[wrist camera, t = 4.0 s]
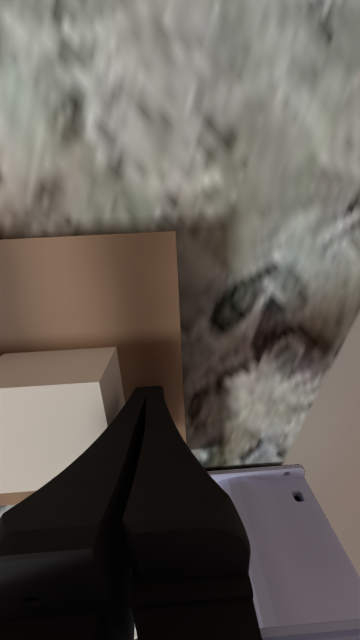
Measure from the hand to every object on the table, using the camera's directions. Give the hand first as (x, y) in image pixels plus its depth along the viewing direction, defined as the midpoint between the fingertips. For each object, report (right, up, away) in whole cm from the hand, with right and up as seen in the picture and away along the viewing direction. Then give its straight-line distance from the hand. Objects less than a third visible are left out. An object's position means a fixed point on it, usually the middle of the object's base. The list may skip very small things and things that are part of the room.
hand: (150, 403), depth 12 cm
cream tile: (-4, 0, +1) cm, 4 cm away
